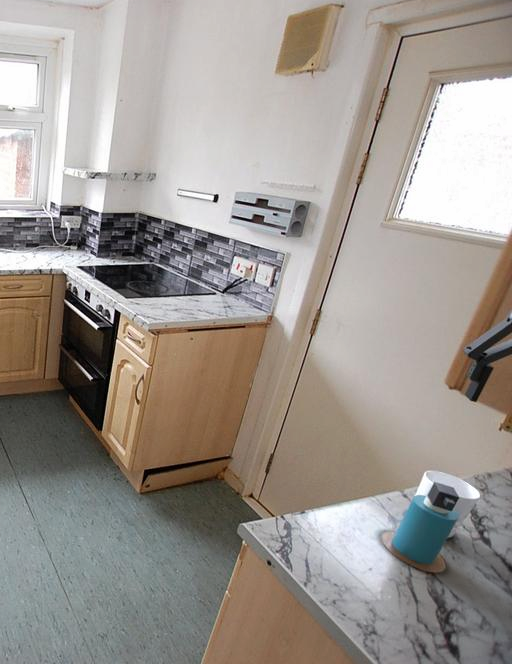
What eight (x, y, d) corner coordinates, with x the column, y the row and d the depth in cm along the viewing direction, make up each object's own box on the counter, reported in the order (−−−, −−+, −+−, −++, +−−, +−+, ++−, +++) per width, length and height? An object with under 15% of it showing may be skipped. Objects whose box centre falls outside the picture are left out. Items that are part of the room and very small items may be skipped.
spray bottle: (388, 532, 87) (418, 471, 82) (428, 547, 84) (462, 484, 79) (396, 557, 81) (429, 493, 76) (440, 573, 78) (477, 508, 74)
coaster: (436, 546, 85) (436, 545, 85) (452, 581, 77) (453, 581, 77) (377, 525, 89) (377, 524, 89) (387, 557, 81) (387, 556, 81)
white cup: (406, 504, 95) (426, 465, 92) (457, 527, 90) (480, 486, 87) (402, 523, 90) (422, 481, 86) (455, 548, 85) (480, 505, 81)
